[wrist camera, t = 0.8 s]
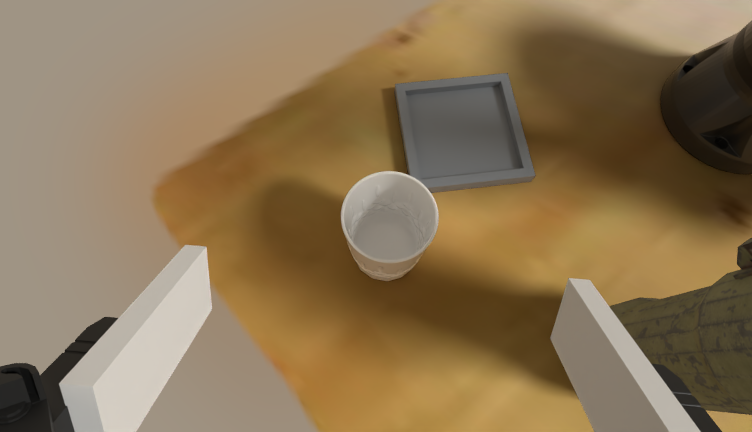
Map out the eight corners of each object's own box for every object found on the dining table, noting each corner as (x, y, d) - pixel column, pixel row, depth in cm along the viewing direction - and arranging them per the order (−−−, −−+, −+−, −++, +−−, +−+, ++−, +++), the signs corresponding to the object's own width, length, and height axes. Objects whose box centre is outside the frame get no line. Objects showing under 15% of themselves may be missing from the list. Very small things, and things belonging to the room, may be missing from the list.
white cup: (333, 233, 46) (324, 196, 36) (400, 200, 47) (408, 155, 38) (369, 301, 43) (369, 280, 34) (438, 264, 45) (457, 234, 35)
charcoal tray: (503, 81, 52) (507, 72, 51) (530, 181, 48) (535, 175, 46) (394, 92, 52) (395, 84, 50) (411, 195, 47) (412, 189, 46)
